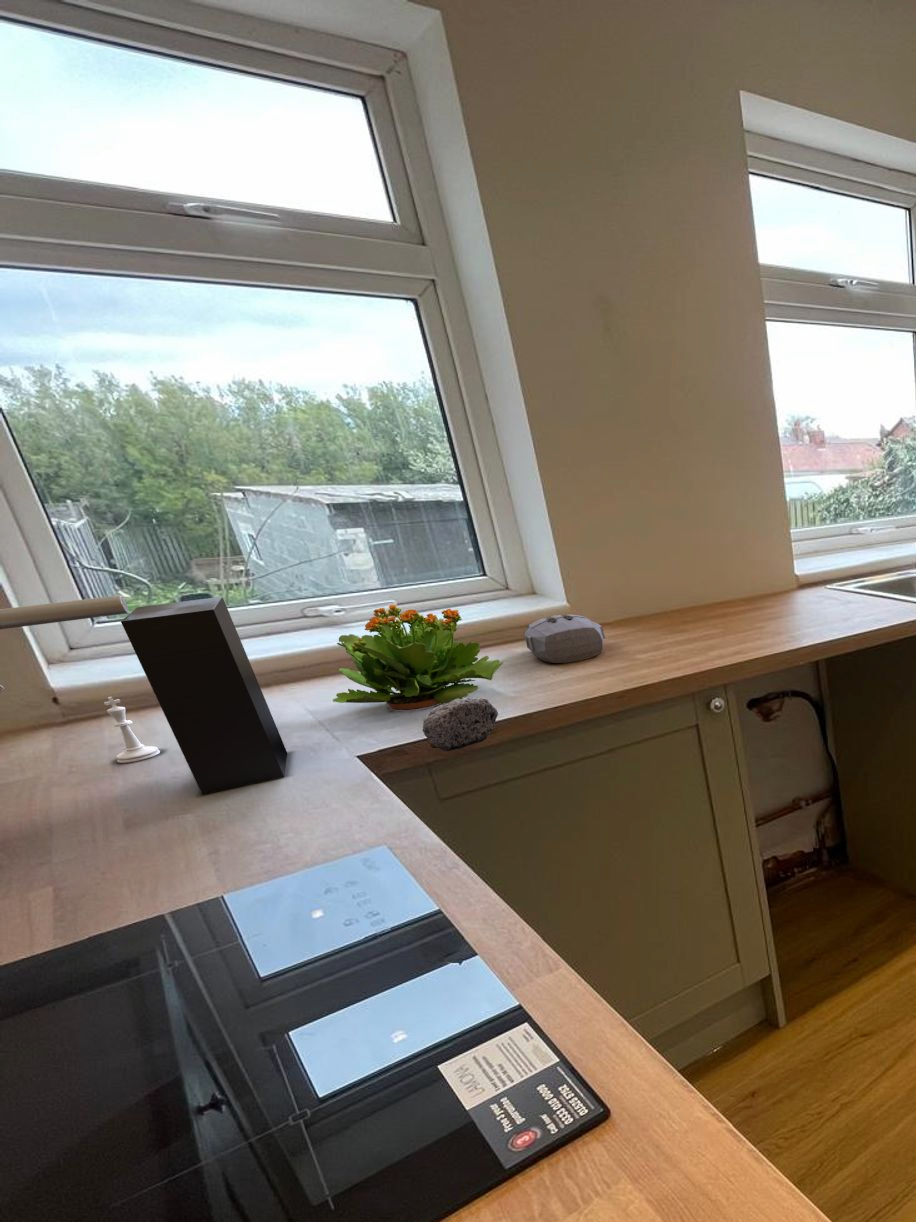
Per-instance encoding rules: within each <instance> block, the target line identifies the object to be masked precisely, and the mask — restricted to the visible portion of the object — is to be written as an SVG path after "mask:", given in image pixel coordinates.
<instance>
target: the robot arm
mask: <svg viewBox="0 0 916 1222" xmlns="http://www.w3.org/2000/svg"><path fill="white" fill-rule="evenodd" d="M4 690H5V686H4V685H2V684H0V694H1V693H2V692H4Z"/></svg>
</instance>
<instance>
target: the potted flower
mask: <svg viewBox="0 0 916 1222" xmlns="http://www.w3.org/2000/svg"><path fill="white" fill-rule="evenodd" d="M373 612H374V613H373V616H372V618H370V619H369V621H367V622H366V623H365V625H364V627H365V628H364V631H368V632H369V633H370V634H371V633H375V632H376V633H377V634H373V635H369V634H364V635H362V636H361V637H360V636H358V635H355V634H353V633H350V634H348V635H346V634H342V635H339V637H338V642H336V644H337V645H338V646H341V647H343V648H345V652H346V653H347V654H348V655H350V656H351V660H352V662H353V664H354V665H355V666H356V669H357V670H352V669H350V668H343V667H342V668H338V671H339V672H340V673H341V674H342V675H344V676H346V678H347V679H349V680H350V681H352V682H355V683H356V684H358V685H360V686H364V687H366V688H370V689H372V690H369V691H366V690H361V689H356V690H354V689H351V688H347V692H345V691H343V692H338V693H336V694H335V696H336V697H335V698H332V702H333V703H340V704H343V703H347V704H348V703H349V704H350V703H355V704H363V703H366V704H367V703H369V704H372V703H373V704H374V703H375V704H377V703H379V704H380V703H386V705H387V706H388V708H390V710H391V711H398V712H403V711H405V712H407V711H416V710H422V709H428V708H432V707H435V706H436V707H437V706H439V705H443V704H444V703H448V702H451V701H453V700H455V699H464V698H465V697H467V696H469V694H472V693H474V692H476V691H478V689H479V685H478V684H477V685H476V684H475V685H474V683H471V684H470V683H469V682H475V681H476V679H483V680H487V681H488V680H489V681H492V680H493V676H494V675H495V673H496V672H497V670H498V669H499V668H500V667H501V666H502V665H503V664H504V661H501V660H500V659H494V660H489V659H490V657H489V656H488V655H484V656H483V657H481V658H480V659H479V658H478V657H477V656H478V655H479V653H480V652H481V649H480V648H481V644H480V643H479V642H472V641H469V642H468V643H467V644H465V643H464V642H460V639H458V640H457V642H456V641H455V637H454V636H455V635H454V634H455V632H457V630H458V628H457V627H458V622H459V621H460V622H461V621H462V620H463V618H462V616H461V614H460V612H459V609H452V608H446V609H445V610H442V611H441V615H442V618H438V616H437V615H436V614H433V613H432V612H431V613H428V614H426V616H424V615H423V614H420V613H419V611H417V609H408V610H405V611H403V612H402V608H399V607H397V604H389V605H388V609H387V610H386V609H385V607H380V608H375V609H374V610H373ZM405 624H408V628H409V630H408V631H407V628H406V626H405ZM408 632H409V633H408ZM393 688H394V689H395V690H393ZM373 690H374V691H373Z"/></svg>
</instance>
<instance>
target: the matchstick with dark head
mask: <svg viewBox="0 0 916 1222" xmlns="http://www.w3.org/2000/svg"><path fill="white" fill-rule="evenodd" d="M128 614H130V610H129V606H128V604H127V601H126V600H125V598H124V597H123V595H121V594H119V595H112V596H102V597H95V598H94V597H93V598H85V599H84V598H83V599H77V600H68V601H59V602H50V603H42V604H41V603H40V604H34V605H33V604H32V605H25V606H17V607H9V608H0V630H8V629H14V628H22V627H31V626H39V625H48V624H54V623H63V622H71V621H78V620H87V619H95V618H103V617H110V616H111V617H112V616H118V615H128Z"/></svg>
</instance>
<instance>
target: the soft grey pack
mask: <svg viewBox="0 0 916 1222" xmlns="http://www.w3.org/2000/svg"><path fill="white" fill-rule="evenodd" d="M524 638H525V643H526V648H527V649H528V650H529V651H530V652H531V654H533V655H534V656H536V657H537V658H538V659H540V660H542V661H543V662H548V663H553V664H554V663H555V664H556V663H557V664H558V663H559V664H561V663H562V664H564V663H565V664H566V663H571V662H580V661H582V660H583V661H584V660H586V659H590V658H594V657H595V656H597V655H598V656H599V654H601V653H602V652H603V651H602V650H603V649H604V645H605V641H604V640H605V639H606V636H605V633H604V628H603V626H602V625H600V624H599V623H597V622H594V621H593V620H591V619H589V617H587V616H583V615H578V614H572V613H571V614H569V613H568V614H556V615H551V616H548V617H547V616H546V617H543V618H540V619H538V620H536V621H534V622H531V623H530V624H528V626H527V628H526V631H525V632H524Z"/></svg>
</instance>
